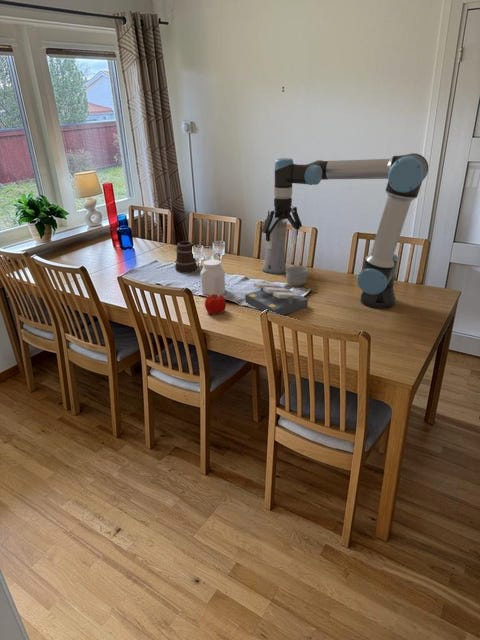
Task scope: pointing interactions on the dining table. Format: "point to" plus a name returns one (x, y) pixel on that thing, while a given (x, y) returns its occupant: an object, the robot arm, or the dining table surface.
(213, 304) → the tomato
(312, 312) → the dining table surface
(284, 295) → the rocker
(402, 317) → the dining table surface
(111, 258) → the dining table surface
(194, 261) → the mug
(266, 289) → the rocker
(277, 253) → the vase
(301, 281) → the teacup
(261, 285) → the rocker
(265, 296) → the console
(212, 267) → the jar
